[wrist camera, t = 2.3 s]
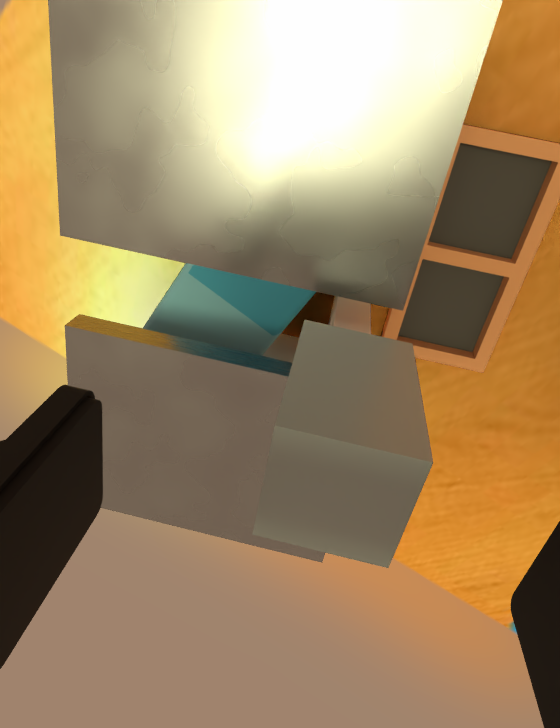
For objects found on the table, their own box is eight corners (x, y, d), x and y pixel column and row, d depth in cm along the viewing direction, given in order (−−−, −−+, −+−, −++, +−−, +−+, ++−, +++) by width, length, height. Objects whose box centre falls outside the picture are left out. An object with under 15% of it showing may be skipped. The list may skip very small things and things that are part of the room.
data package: (259, 314, 32) (208, 420, 22) (202, 271, 32) (120, 360, 21) (387, 155, 27) (399, 196, 16) (321, 98, 26) (290, 104, 16)
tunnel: (435, 30, 24) (515, -41, 11) (339, 382, 34) (321, 562, 21) (214, -12, 25) (41, -127, 12) (184, 346, 35) (73, 500, 22)
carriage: (426, 80, 25) (609, 48, 6) (349, 360, 33) (323, 719, 14) (226, 41, 25) (-182, -100, 6) (198, 326, 33) (-21, 629, 14)
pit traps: (573, 145, 25) (582, 148, 24) (479, 363, 32) (483, 372, 31) (446, 121, 26) (449, 122, 25) (379, 341, 32) (379, 349, 31)
